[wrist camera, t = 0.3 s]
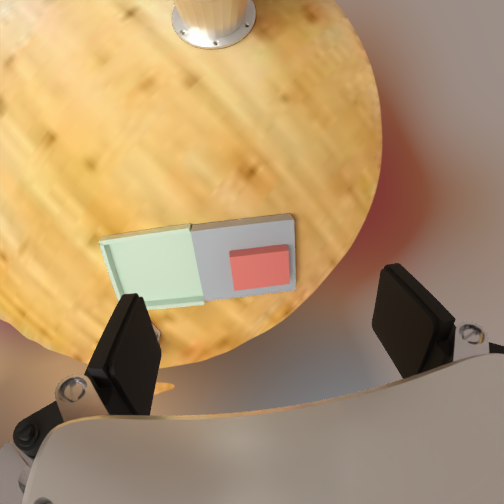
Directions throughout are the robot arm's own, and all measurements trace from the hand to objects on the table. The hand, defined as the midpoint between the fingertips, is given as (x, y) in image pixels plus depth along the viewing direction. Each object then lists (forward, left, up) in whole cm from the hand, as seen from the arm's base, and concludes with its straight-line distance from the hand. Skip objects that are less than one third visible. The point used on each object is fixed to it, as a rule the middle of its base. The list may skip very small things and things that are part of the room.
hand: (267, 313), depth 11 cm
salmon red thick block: (+16, +2, -33) cm, 36 cm away
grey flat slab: (+15, 0, -36) cm, 39 cm away
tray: (+16, -16, -36) cm, 42 cm away
